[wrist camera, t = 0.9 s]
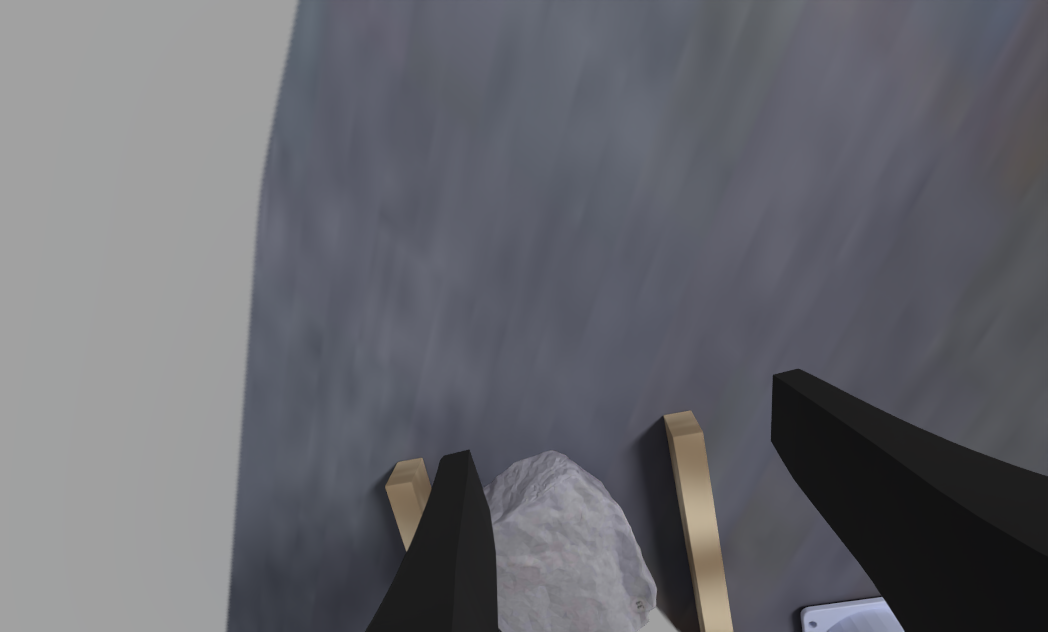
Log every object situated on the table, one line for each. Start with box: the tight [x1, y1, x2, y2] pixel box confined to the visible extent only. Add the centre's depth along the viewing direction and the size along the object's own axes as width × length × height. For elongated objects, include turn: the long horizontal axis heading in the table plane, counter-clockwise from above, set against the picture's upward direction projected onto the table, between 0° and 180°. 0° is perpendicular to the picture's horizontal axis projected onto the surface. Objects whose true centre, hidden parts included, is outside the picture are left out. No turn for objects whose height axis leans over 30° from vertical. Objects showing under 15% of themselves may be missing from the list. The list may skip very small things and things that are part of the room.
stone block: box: [483, 450, 657, 632], centre depth 32 cm, size 12×5×10 cm
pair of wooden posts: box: [385, 411, 733, 632], centre depth 32 cm, size 17×17×2 cm
